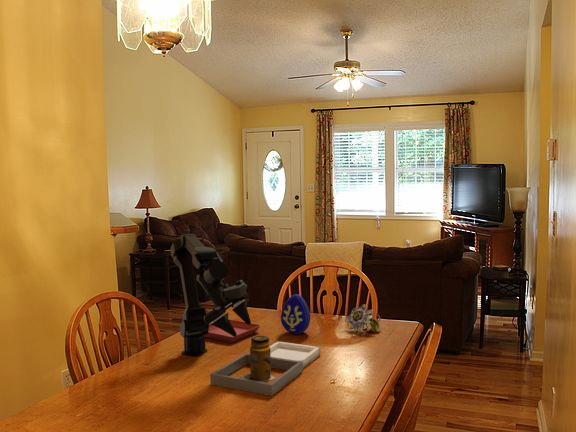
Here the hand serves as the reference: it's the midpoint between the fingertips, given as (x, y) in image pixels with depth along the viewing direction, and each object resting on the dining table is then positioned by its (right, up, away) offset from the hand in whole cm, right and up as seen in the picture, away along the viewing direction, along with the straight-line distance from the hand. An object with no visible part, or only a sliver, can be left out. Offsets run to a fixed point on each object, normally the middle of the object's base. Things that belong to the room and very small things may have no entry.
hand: (242, 329), depth 158 cm
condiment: (+5, -13, -4) cm, 15 cm away
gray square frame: (+5, -13, -4) cm, 15 cm away
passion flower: (+43, -10, +44) cm, 62 cm away
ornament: (+17, -10, +41) cm, 45 cm away
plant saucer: (-9, -11, +40) cm, 43 cm away
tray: (+14, -12, +12) cm, 22 cm away
